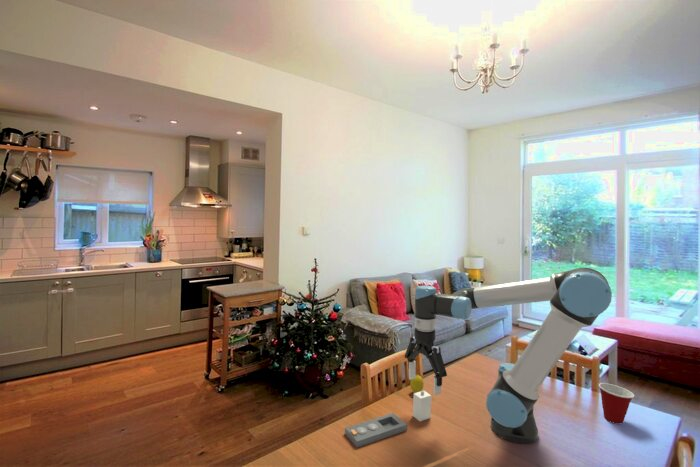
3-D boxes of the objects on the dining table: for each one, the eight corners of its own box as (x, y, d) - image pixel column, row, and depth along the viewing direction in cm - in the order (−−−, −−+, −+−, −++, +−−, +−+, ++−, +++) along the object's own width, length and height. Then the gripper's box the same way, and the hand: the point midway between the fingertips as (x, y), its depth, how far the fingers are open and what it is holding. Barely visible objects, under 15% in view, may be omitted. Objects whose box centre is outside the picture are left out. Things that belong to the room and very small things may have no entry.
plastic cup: (640, 428, 127) (642, 396, 127) (612, 428, 126) (614, 396, 126) (615, 411, 138) (617, 381, 137) (589, 411, 137) (591, 382, 137)
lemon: (413, 397, 145) (414, 378, 144) (407, 390, 150) (408, 372, 150) (425, 395, 146) (426, 377, 146) (419, 389, 152) (420, 371, 151)
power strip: (406, 433, 121) (407, 422, 120) (356, 450, 111) (357, 439, 111) (393, 420, 128) (393, 411, 127) (344, 436, 118) (345, 425, 118)
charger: (430, 419, 128) (431, 392, 128) (419, 422, 126) (420, 395, 125) (423, 413, 132) (424, 387, 131) (412, 417, 129) (413, 390, 129)
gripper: (396, 321, 136) (395, 374, 137) (441, 340, 115) (440, 404, 115) (411, 318, 140) (410, 370, 141) (458, 337, 118) (457, 398, 119)
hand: (424, 386), depth 128 cm, fingers open, 13 cm apart
